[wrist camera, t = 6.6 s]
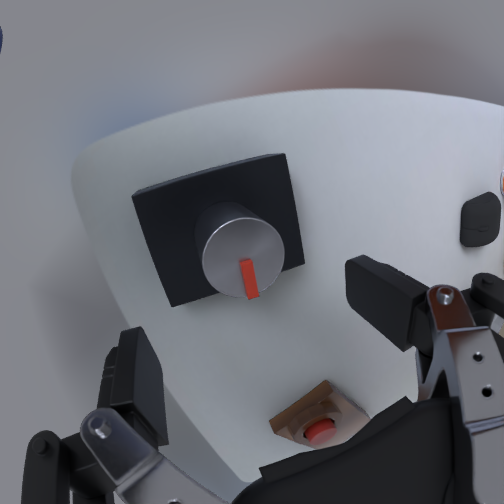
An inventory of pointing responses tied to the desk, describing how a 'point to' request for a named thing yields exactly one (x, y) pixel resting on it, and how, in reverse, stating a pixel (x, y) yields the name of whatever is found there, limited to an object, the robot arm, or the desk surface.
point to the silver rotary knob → (238, 250)
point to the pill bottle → (502, 183)
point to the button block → (320, 416)
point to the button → (320, 432)
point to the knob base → (199, 199)
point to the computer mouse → (480, 220)
